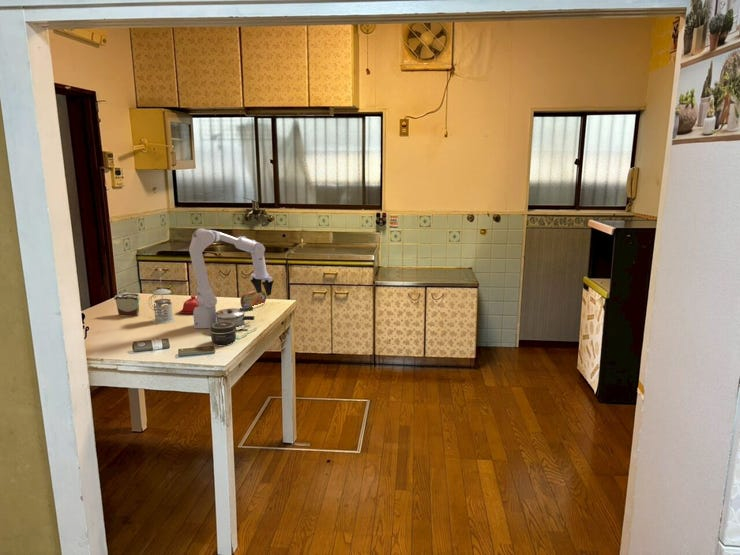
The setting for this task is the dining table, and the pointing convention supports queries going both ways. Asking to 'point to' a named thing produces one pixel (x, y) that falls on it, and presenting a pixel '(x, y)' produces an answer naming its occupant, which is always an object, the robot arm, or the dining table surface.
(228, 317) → the cooker lid
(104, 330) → the dining table surface
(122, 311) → the food container
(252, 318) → the cooker pot
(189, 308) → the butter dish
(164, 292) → the french press
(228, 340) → the jar
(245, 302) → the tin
